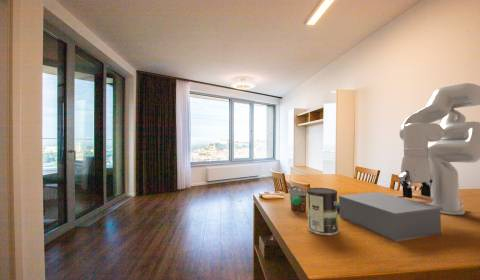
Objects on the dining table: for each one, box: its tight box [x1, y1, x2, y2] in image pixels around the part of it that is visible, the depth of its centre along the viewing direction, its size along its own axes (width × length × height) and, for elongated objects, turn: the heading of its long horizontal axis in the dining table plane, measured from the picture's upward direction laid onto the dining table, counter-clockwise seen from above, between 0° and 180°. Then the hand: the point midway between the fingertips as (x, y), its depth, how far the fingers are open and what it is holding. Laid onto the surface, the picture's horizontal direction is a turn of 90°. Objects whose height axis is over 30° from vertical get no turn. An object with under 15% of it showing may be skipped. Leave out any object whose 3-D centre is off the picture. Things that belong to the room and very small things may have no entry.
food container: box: [288, 185, 307, 213], centre depth 100 cm, size 12×6×10 cm, turn 5°
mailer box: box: [338, 197, 442, 243], centre depth 80 cm, size 20×24×8 cm
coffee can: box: [306, 187, 339, 236], centre depth 77 cm, size 10×10×14 cm
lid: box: [338, 191, 443, 216], centre depth 81 cm, size 28×25×2 cm
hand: (416, 196), depth 85 cm, fingers open, 9 cm apart
